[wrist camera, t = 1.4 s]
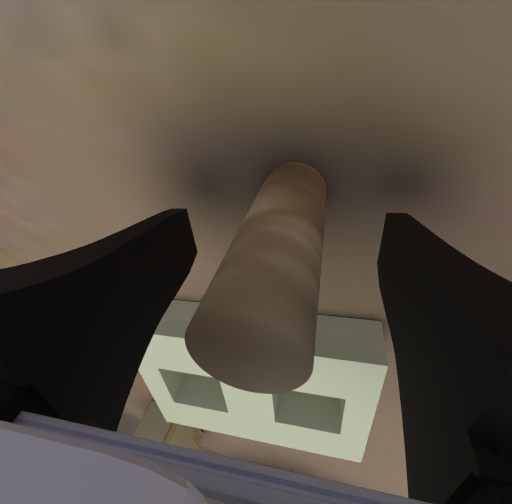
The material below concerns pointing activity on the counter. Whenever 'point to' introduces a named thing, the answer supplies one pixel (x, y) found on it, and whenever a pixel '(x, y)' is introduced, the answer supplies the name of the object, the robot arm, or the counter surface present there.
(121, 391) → the robot arm
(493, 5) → the counter surface
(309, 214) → the dowel
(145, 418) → the skincare box
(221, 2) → the counter surface
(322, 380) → the board
